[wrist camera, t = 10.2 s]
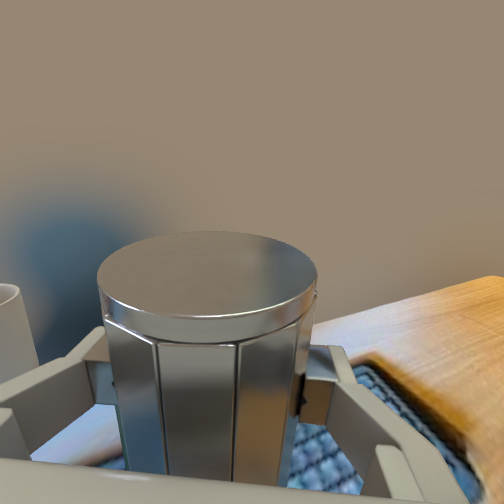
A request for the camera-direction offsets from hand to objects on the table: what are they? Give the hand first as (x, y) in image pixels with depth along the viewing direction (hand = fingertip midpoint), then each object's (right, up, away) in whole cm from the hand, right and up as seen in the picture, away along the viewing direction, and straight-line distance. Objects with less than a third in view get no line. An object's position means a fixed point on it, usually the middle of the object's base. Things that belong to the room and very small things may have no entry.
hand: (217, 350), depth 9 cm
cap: (0, -5, +1) cm, 5 cm away
